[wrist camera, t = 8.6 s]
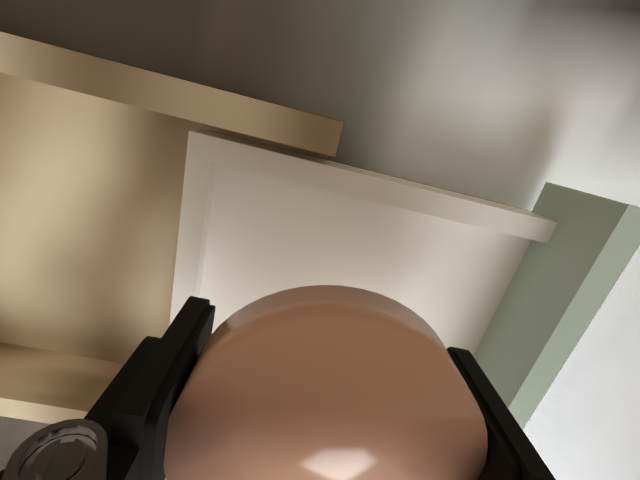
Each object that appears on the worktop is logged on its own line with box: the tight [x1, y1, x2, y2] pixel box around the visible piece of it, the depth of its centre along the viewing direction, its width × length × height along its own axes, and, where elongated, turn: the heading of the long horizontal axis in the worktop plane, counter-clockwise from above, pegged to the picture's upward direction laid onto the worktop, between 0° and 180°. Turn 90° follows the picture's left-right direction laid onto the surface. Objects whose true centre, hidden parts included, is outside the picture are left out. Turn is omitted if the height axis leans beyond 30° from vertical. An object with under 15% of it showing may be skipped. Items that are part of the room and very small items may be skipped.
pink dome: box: [163, 285, 488, 480], centre depth 8 cm, size 7×7×2 cm
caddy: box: [0, 32, 344, 424], centre depth 13 cm, size 14×14×4 cm
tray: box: [169, 129, 640, 430], centre depth 13 cm, size 14×14×4 cm
